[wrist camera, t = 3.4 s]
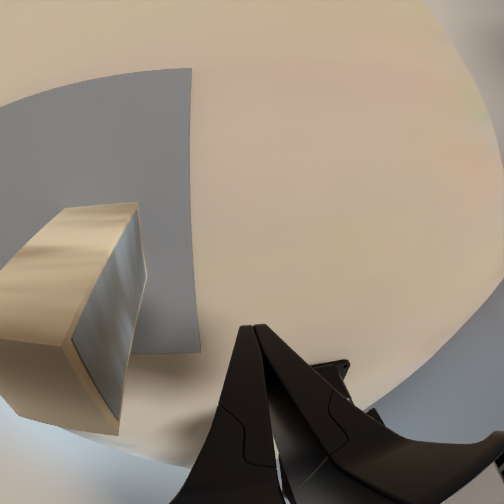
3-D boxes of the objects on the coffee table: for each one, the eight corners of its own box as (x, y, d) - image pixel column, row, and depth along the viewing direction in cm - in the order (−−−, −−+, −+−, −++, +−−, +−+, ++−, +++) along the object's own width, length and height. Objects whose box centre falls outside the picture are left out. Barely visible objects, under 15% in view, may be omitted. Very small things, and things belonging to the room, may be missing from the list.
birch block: (148, 276, 16) (119, 436, 7) (80, 277, 15) (19, 415, 6) (138, 201, 13) (62, 346, 5) (64, 208, 13) (-45, 328, 4)
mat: (200, 346, 20) (200, 352, 19) (-3, 336, 16) (-6, 340, 16) (191, 70, 11) (191, 68, 11) (-60, 139, 8) (-65, 141, 7)
